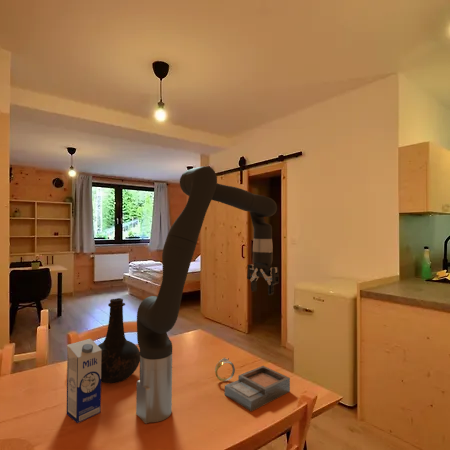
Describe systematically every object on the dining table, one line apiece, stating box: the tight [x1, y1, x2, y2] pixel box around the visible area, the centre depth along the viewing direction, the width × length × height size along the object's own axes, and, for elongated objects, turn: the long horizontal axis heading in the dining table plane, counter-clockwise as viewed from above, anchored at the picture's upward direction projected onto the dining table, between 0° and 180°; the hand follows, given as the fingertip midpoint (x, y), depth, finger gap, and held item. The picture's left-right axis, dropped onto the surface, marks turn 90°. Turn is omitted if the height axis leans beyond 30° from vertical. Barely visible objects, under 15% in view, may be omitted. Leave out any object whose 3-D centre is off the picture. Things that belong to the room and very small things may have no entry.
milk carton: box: [66, 338, 102, 424], centre depth 91 cm, size 7×7×20 cm
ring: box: [214, 357, 236, 383], centre depth 111 cm, size 7×3×8 cm, turn 97°
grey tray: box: [224, 365, 291, 412], centre depth 103 cm, size 18×12×4 cm, turn 130°
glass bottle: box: [97, 297, 140, 384], centre depth 113 cm, size 18×18×28 cm
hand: (262, 293), depth 121 cm, fingers open, 8 cm apart
